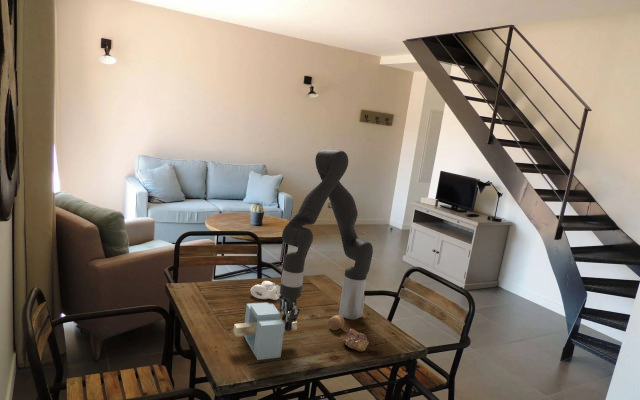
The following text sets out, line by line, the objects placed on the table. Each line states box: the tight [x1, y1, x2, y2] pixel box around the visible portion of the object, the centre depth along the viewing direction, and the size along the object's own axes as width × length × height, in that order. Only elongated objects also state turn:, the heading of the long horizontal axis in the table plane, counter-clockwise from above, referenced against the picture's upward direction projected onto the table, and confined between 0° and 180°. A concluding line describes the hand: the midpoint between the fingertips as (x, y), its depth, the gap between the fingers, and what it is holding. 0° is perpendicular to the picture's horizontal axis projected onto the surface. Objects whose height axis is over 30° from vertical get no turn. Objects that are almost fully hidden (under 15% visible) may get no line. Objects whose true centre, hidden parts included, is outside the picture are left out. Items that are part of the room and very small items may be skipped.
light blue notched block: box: [243, 302, 285, 361], centre depth 153 cm, size 8×17×14 cm, turn 26°
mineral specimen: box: [342, 327, 370, 352], centre depth 163 cm, size 12×8×7 cm
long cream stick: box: [233, 319, 299, 337], centre depth 154 cm, size 22×3×3 cm, turn 116°
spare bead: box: [327, 314, 345, 331], centre depth 175 cm, size 4×5×5 cm
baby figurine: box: [249, 280, 281, 301], centre depth 196 cm, size 9×13×9 cm
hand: (286, 328), depth 157 cm, fingers closed on long cream stick, 3 cm apart
